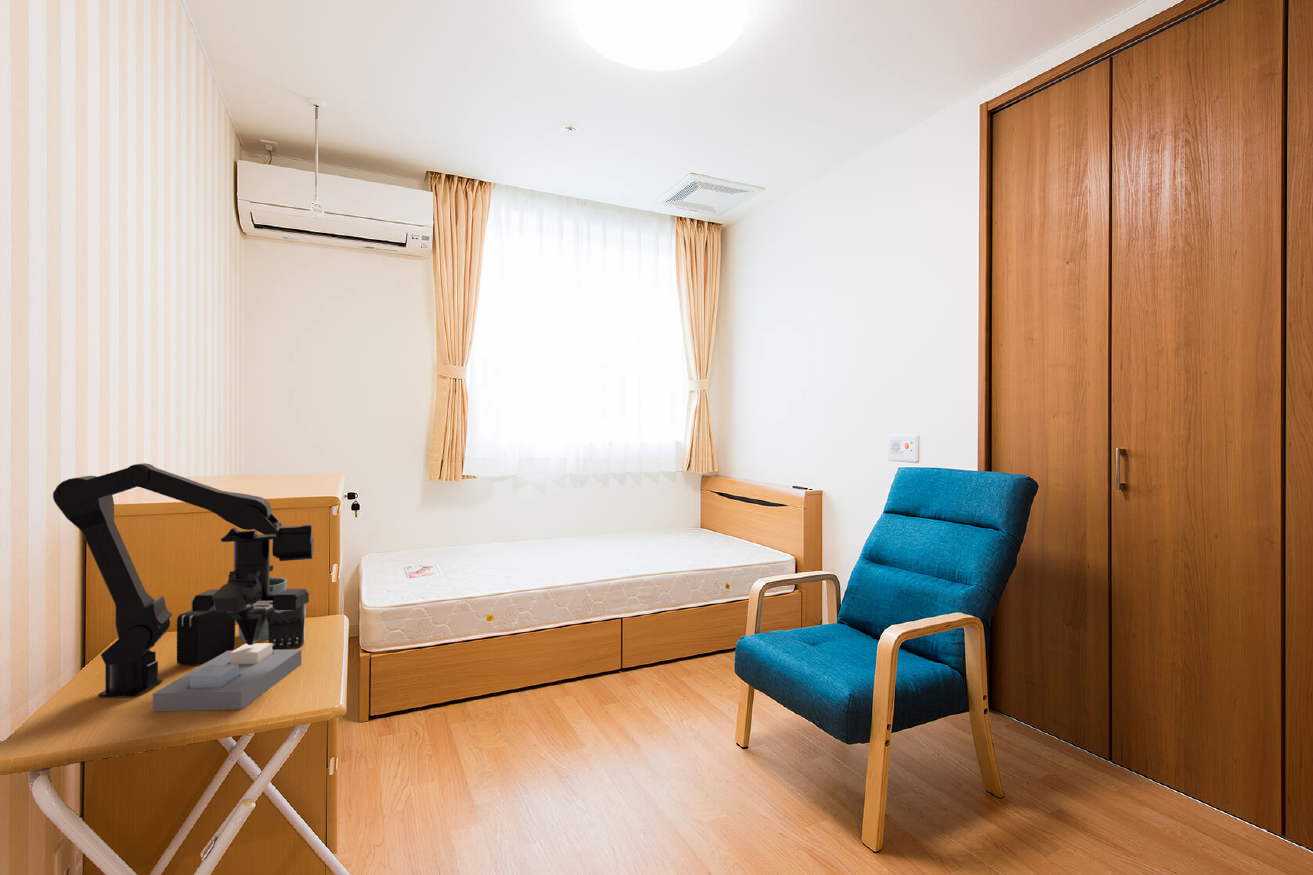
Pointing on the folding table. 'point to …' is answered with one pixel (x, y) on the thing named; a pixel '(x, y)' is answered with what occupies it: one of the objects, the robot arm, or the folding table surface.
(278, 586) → the teal cup
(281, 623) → the battery charger
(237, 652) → the ivory key
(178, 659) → the electronic device
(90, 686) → the folding table surface
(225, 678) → the slate key
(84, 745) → the folding table surface
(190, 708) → the key panel
